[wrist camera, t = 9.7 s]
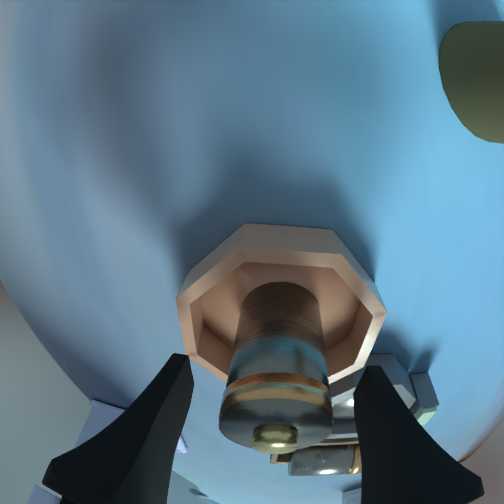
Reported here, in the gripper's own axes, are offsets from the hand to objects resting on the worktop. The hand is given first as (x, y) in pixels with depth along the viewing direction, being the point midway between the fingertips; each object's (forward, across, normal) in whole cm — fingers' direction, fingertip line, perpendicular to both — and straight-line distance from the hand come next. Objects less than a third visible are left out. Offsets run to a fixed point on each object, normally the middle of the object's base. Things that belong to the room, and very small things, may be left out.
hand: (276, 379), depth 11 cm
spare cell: (+4, -6, +16) cm, 17 cm away
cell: (+4, 0, 0) cm, 4 cm away
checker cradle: (+4, -6, +7) cm, 10 cm away
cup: (+4, 0, 0) cm, 4 cm away
